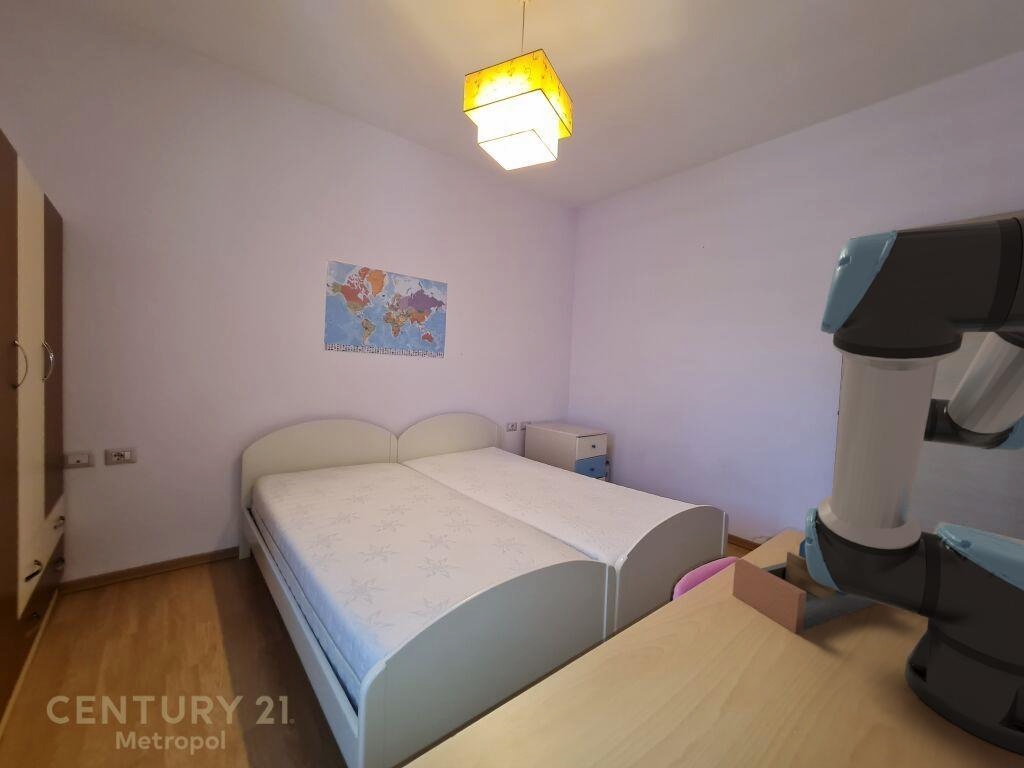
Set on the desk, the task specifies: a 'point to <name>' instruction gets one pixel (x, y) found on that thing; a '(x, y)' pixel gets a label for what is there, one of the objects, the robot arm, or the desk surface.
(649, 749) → the desk surface
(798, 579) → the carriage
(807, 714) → the desk surface
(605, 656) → the desk surface
